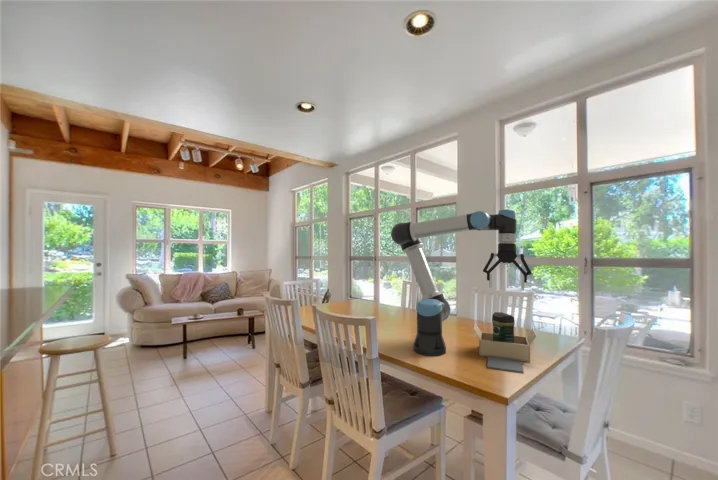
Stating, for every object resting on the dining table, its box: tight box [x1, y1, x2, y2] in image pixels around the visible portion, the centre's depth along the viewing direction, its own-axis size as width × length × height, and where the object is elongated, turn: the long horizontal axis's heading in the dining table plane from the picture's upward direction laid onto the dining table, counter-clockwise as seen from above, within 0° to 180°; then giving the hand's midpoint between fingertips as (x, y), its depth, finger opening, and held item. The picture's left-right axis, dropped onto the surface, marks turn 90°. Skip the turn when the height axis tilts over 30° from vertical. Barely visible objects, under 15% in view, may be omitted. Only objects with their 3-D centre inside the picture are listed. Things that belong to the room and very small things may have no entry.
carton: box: [473, 322, 537, 363], centre depth 140 cm, size 25×15×11 cm, turn 66°
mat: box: [486, 356, 524, 374], centre depth 126 cm, size 13×13×1 cm
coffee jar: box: [491, 311, 516, 343], centre depth 140 cm, size 10×8×19 cm
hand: (506, 288), depth 141 cm, fingers open, 13 cm apart
